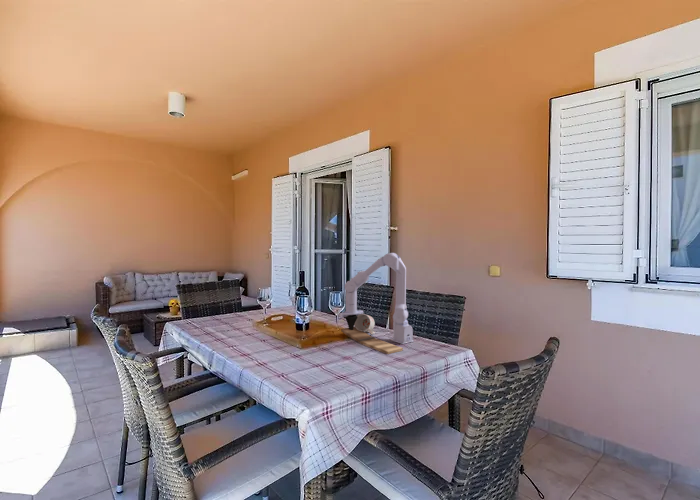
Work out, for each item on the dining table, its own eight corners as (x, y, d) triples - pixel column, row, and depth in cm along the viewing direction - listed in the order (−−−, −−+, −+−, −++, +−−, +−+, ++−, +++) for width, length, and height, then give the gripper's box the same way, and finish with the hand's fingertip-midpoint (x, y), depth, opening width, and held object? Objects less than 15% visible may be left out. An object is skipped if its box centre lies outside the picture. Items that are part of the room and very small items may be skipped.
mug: (356, 322, 202) (350, 321, 192) (367, 311, 202) (362, 310, 192) (370, 339, 198) (365, 339, 188) (382, 328, 198) (377, 327, 187)
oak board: (402, 350, 167) (402, 347, 167) (388, 354, 161) (388, 350, 161) (374, 340, 183) (374, 337, 183) (360, 343, 177) (360, 340, 177)
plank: (373, 340, 183) (373, 337, 183) (359, 343, 178) (359, 340, 178) (355, 328, 196) (355, 326, 195) (341, 331, 190) (341, 328, 190)
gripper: (357, 301, 198) (357, 325, 198) (335, 303, 189) (335, 329, 190) (365, 303, 192) (365, 328, 193) (343, 305, 183) (342, 332, 184)
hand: (350, 329), depth 191 cm, fingers closed, pressing on plank
